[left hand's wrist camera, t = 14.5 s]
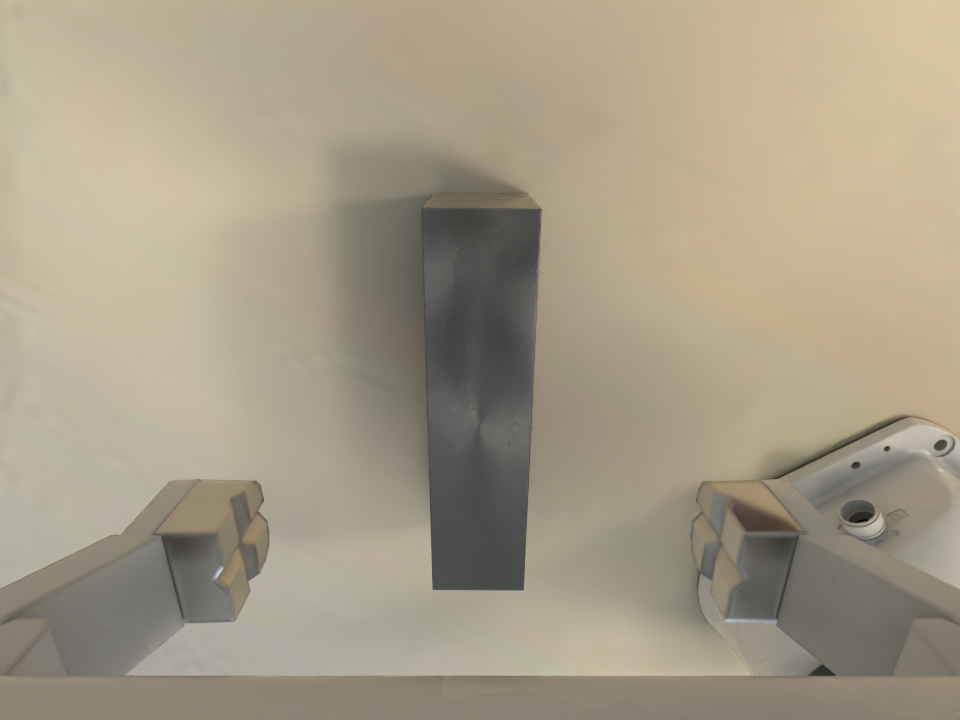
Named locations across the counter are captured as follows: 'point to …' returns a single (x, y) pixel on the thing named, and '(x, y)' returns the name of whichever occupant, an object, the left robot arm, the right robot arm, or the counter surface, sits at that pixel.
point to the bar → (480, 383)
